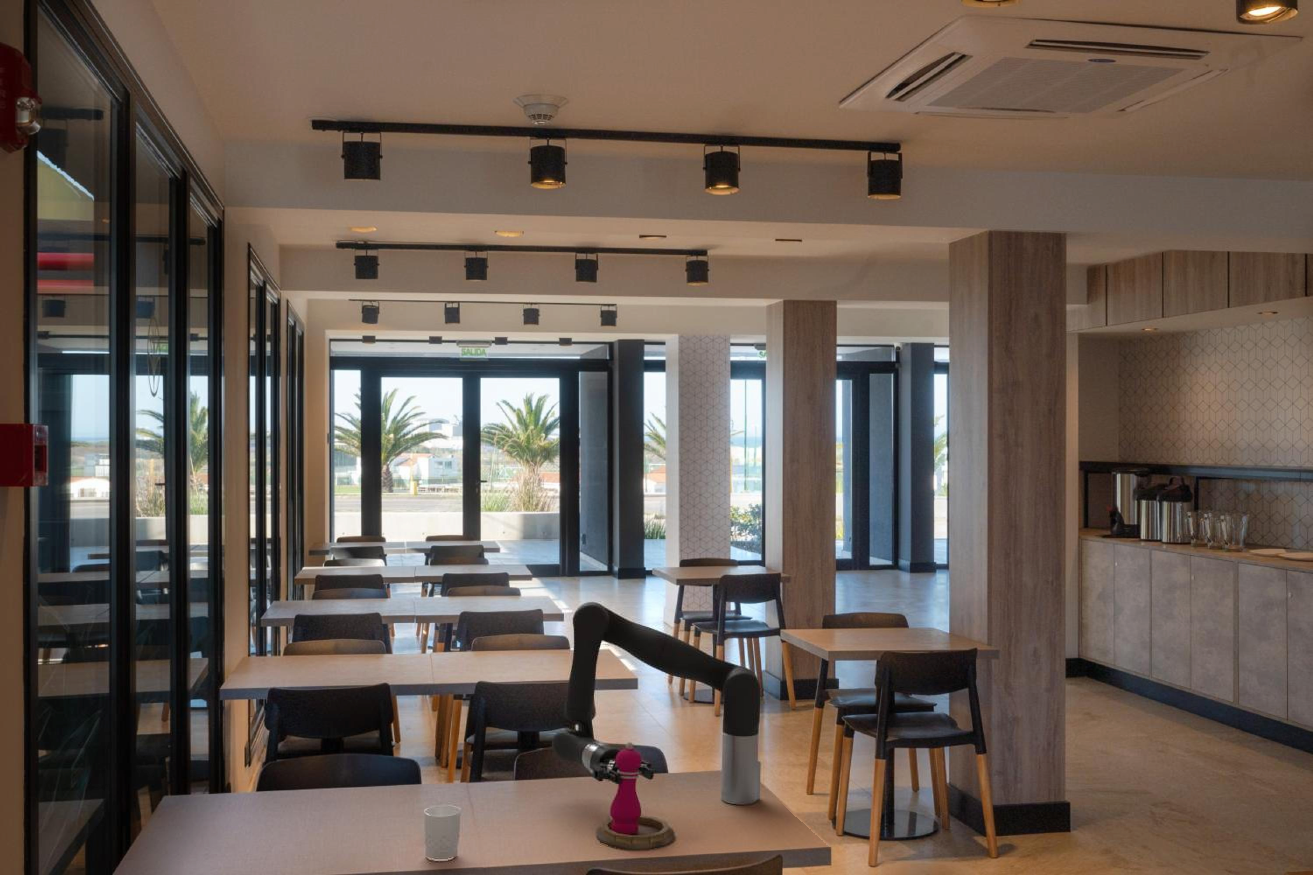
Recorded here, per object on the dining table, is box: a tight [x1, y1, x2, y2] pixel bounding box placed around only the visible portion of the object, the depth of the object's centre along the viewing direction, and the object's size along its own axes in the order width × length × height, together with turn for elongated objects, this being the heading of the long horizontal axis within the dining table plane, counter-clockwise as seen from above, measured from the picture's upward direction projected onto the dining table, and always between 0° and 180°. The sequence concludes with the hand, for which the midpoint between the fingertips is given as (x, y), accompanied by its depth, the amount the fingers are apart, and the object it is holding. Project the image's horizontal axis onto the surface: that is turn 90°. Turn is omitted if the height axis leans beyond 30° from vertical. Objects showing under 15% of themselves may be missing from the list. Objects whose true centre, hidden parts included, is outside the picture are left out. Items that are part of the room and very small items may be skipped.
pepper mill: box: [609, 741, 642, 834], centre depth 271 cm, size 7×7×20 cm
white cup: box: [423, 804, 462, 859], centre depth 255 cm, size 8×8×10 cm
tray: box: [595, 814, 675, 851], centre depth 270 cm, size 18×18×2 cm
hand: (635, 777), depth 271 cm, fingers open, 8 cm apart
